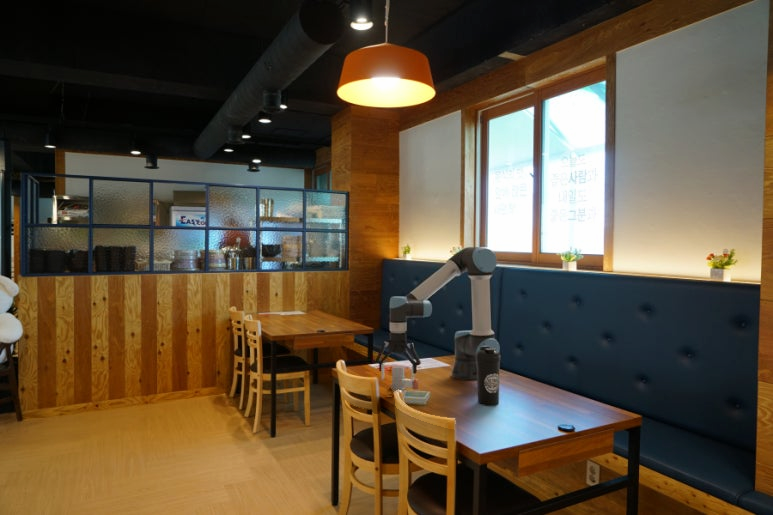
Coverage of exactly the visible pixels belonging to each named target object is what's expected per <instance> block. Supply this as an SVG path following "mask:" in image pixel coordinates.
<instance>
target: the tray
mask: <svg viewBox="0 0 773 515" xmlns="http://www.w3.org/2000/svg"><path fill="white" fill-rule="evenodd" d="M403 396H404V400H405V402H406V403H407V404H408V405H420V406H426V405H427V403H428V401H429V400H430V398H431V391H425V390H424V391H423V390H407V389H406V390H405V391H404V392H403ZM407 404H406V405H407Z"/></svg>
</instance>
